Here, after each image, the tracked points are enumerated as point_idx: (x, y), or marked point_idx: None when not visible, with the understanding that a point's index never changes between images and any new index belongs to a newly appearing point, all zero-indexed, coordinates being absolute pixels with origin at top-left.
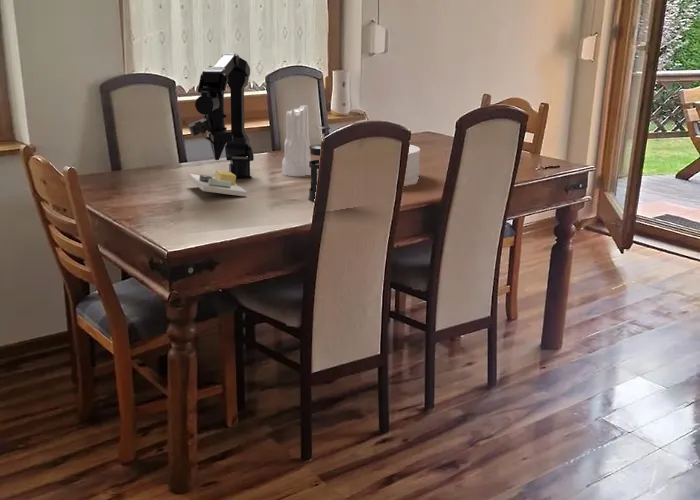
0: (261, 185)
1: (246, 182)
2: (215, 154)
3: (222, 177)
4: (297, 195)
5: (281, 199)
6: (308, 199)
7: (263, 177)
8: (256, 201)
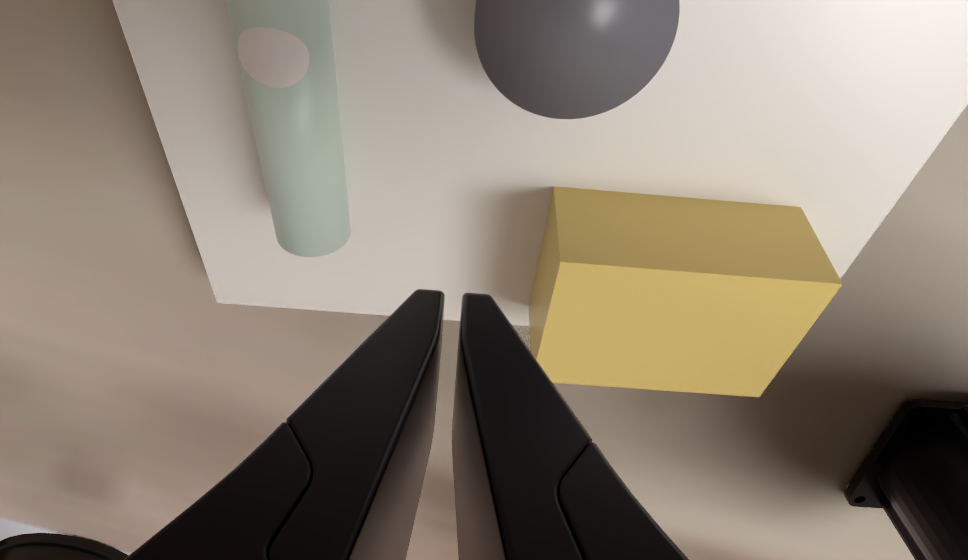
0: None
1: (749, 431)
2: (352, 367)
3: (553, 245)
4: None
5: (114, 437)
6: (73, 538)
7: (810, 547)
8: (64, 286)
